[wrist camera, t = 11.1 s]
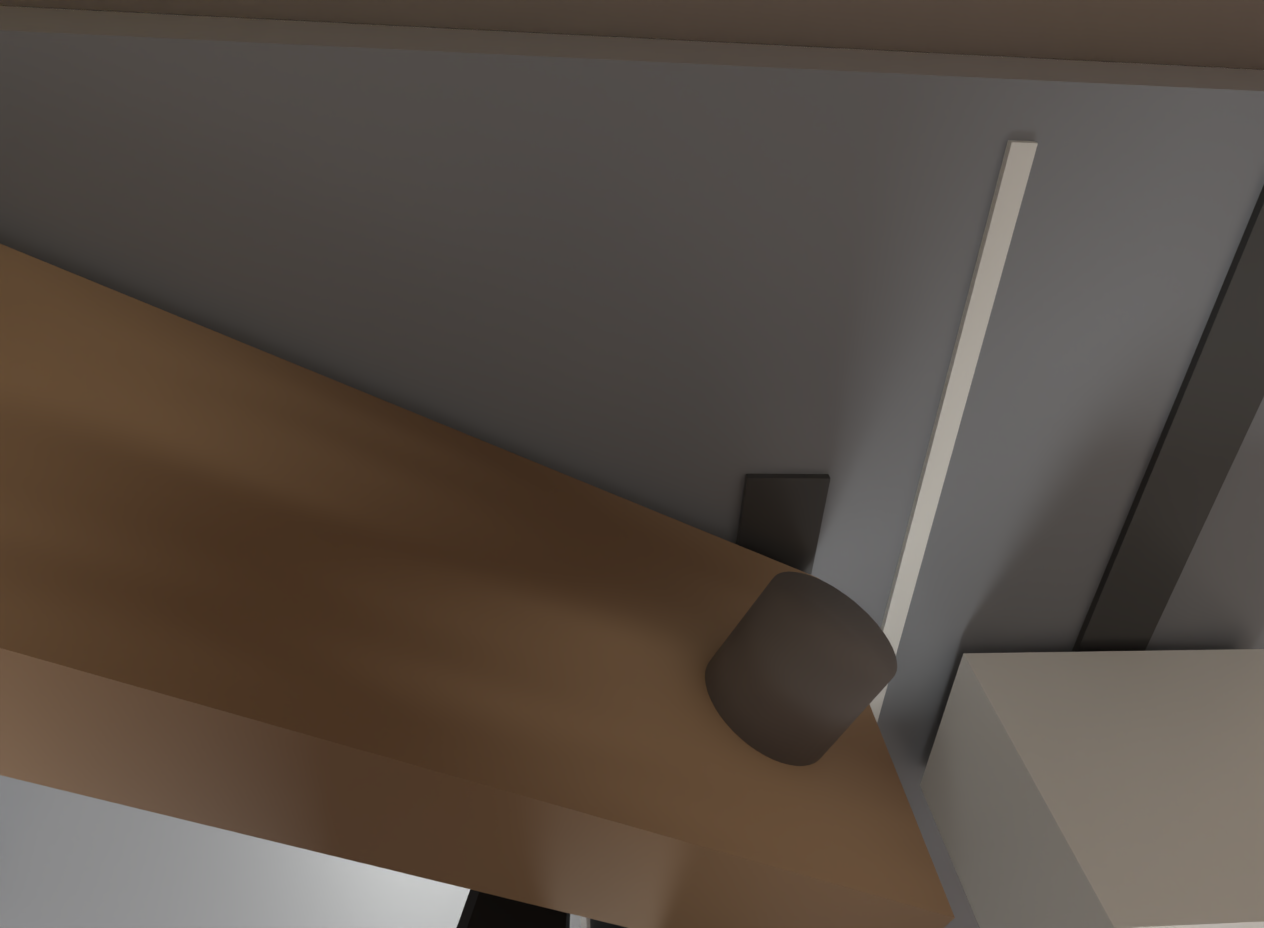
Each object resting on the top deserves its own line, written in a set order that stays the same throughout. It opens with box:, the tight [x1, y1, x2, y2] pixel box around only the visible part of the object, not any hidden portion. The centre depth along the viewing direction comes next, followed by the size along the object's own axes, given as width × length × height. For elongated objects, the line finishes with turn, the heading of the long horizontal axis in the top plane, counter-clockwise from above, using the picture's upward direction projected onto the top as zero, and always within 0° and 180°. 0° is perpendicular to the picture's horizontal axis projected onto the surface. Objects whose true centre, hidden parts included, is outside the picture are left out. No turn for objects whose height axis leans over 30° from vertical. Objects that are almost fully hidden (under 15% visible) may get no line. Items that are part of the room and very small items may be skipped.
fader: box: [920, 649, 1264, 928], centre depth 10 cm, size 2×4×4 cm, turn 87°
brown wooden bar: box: [0, 244, 955, 928], centre depth 7 cm, size 10×2×4 cm, turn 61°
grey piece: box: [0, 6, 1264, 928], centre depth 10 cm, size 15×22×6 cm
